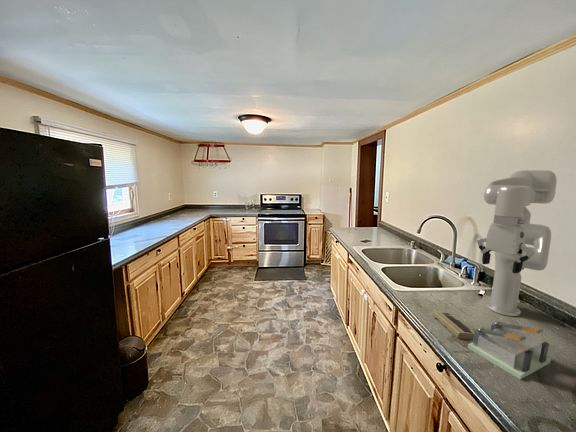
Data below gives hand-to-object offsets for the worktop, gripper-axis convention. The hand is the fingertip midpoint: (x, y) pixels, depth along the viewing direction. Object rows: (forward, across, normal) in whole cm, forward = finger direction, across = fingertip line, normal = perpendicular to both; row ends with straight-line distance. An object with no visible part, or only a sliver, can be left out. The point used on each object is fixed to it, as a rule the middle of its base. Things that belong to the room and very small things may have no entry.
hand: (500, 268), depth 92 cm
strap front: (+22, -6, +5) cm, 23 cm away
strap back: (+21, -6, -5) cm, 22 cm away
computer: (+31, +13, +1) cm, 33 cm away
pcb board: (+30, -6, 0) cm, 31 cm away
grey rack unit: (+29, -6, 0) cm, 29 cm away
